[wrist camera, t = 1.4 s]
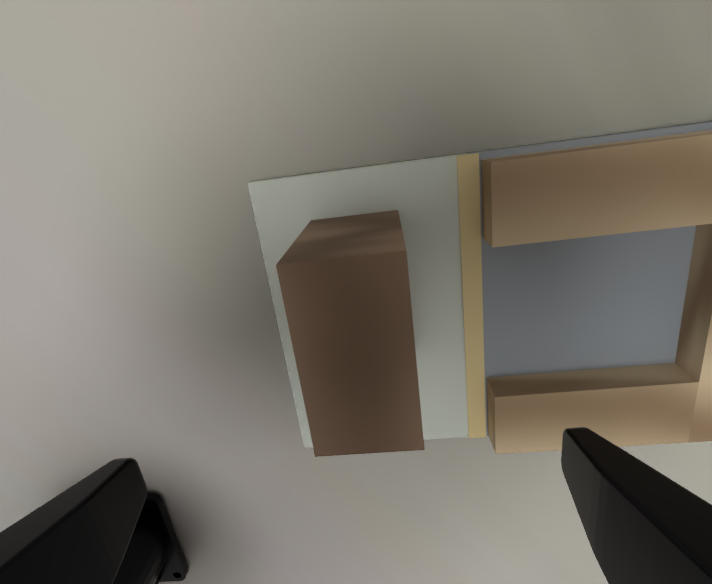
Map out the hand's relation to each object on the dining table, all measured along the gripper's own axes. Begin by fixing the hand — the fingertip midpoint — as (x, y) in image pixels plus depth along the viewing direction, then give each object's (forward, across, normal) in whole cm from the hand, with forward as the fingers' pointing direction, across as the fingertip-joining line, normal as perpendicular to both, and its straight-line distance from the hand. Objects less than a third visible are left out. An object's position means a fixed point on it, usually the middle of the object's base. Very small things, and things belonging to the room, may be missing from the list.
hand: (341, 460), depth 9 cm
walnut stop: (+10, 0, 0) cm, 10 cm away
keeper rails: (+10, -9, +1) cm, 14 cm away
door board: (+10, -5, +1) cm, 12 cm away
